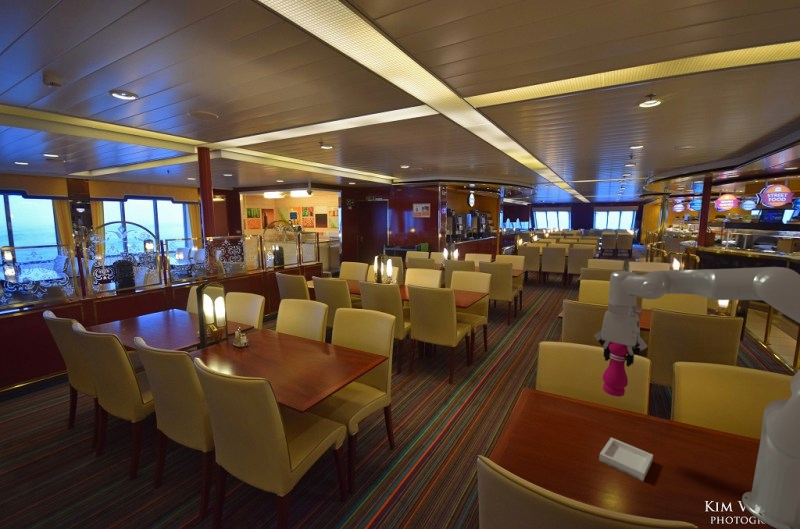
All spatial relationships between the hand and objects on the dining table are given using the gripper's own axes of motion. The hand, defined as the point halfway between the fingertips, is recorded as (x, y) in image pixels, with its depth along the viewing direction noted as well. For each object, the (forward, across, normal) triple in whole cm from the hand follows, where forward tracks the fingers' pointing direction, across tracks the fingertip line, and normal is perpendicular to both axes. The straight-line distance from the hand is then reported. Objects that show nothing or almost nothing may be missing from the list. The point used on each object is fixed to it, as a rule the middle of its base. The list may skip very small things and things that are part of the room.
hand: (617, 361), depth 114 cm
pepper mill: (+11, +1, 0) cm, 11 cm away
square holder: (+31, -5, +4) cm, 32 cm away
